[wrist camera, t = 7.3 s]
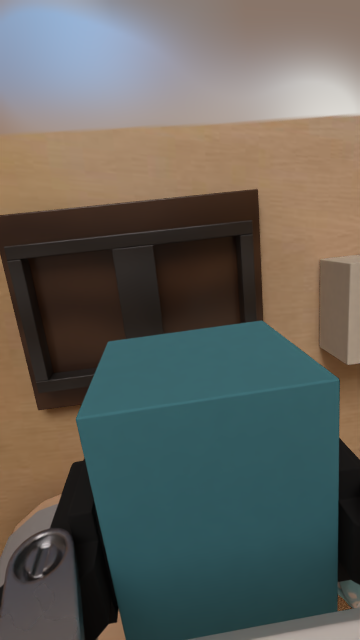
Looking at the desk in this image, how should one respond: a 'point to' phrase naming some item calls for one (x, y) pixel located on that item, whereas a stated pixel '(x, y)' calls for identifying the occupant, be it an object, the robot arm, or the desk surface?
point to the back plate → (96, 277)
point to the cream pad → (340, 307)
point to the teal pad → (214, 479)
